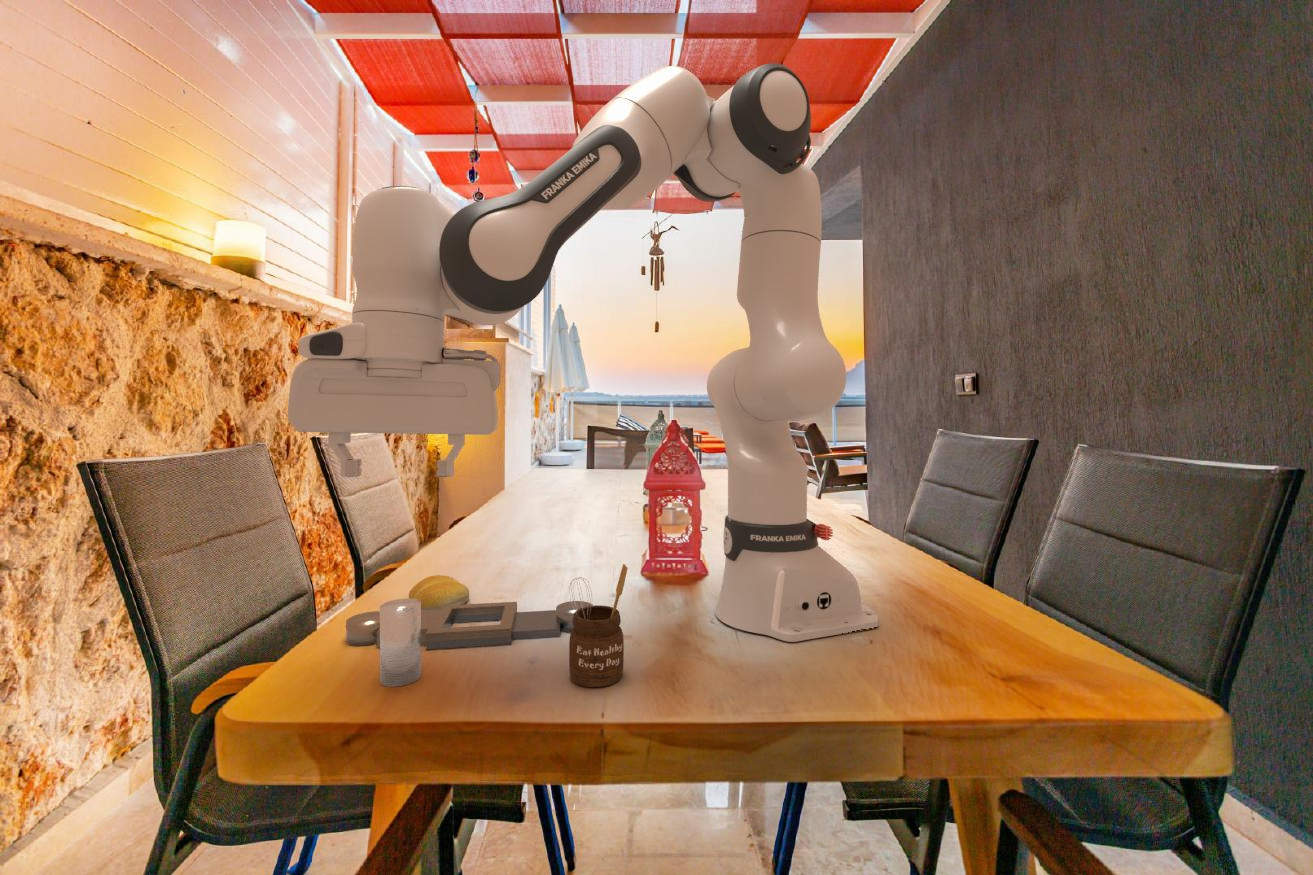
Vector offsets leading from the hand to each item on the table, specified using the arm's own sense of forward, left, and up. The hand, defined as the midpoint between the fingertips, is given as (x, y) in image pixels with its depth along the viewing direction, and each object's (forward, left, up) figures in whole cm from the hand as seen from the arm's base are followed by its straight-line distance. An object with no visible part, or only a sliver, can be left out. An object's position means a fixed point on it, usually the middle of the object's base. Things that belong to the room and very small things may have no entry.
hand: (398, 476), depth 58 cm
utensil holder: (-21, +3, -22) cm, 31 cm away
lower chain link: (-11, -12, -22) cm, 27 cm away
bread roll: (+1, -24, -22) cm, 33 cm away
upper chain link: (-1, -12, -22) cm, 25 cm away
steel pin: (0, 0, -22) cm, 22 cm away
